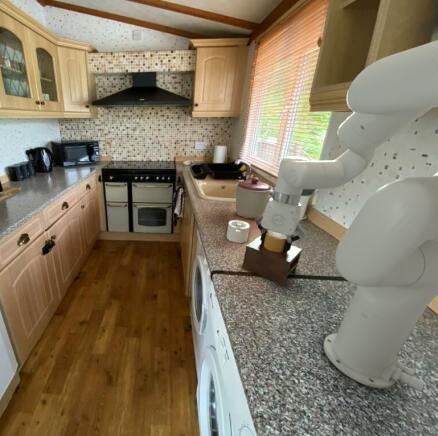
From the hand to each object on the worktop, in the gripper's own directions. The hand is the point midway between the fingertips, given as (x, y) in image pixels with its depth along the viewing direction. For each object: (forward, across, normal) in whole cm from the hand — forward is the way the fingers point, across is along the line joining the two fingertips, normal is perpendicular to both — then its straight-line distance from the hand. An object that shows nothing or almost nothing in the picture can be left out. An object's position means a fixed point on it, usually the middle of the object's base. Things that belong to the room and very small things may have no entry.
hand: (274, 246), depth 83 cm
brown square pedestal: (+9, 0, 0) cm, 9 cm away
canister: (+9, -29, +44) cm, 54 cm away
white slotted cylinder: (+9, -22, +19) cm, 31 cm away
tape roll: (0, 0, 0) cm, 0 cm away
